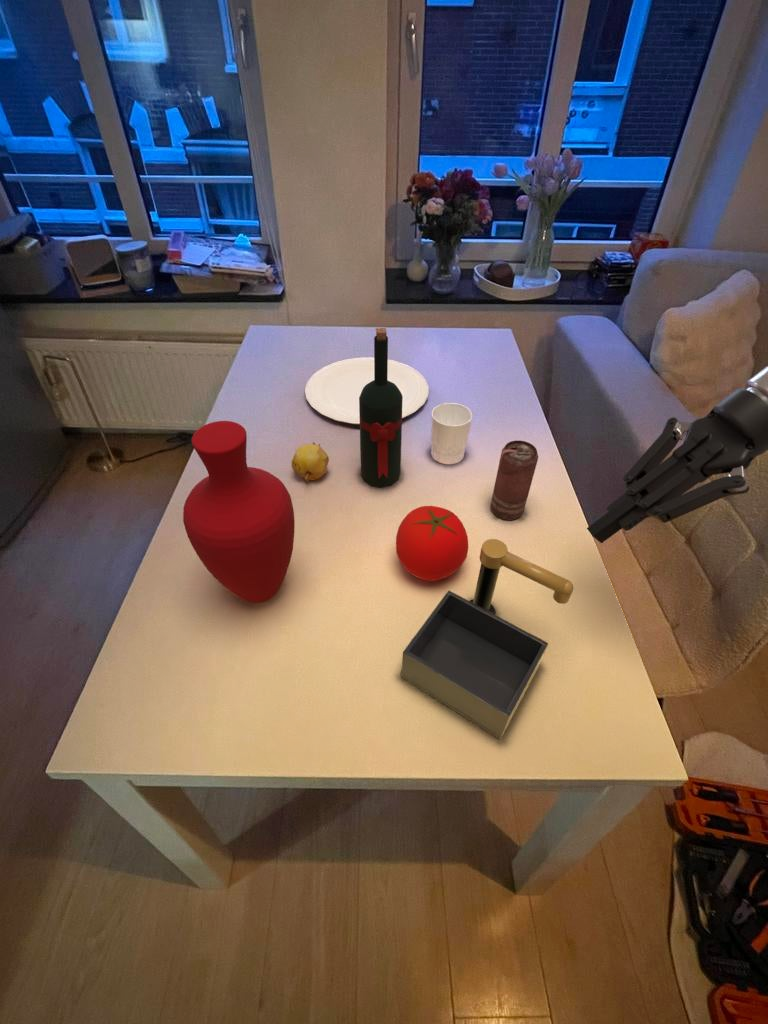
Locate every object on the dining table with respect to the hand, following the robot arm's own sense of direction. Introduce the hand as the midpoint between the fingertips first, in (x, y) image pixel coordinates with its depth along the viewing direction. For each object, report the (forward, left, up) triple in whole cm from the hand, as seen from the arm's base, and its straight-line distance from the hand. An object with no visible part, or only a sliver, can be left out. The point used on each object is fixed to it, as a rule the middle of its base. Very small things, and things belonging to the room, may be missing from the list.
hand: (594, 535), depth 69 cm
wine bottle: (+10, +41, -18) cm, 46 cm away
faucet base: (-7, +10, -18) cm, 22 cm away
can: (+16, +17, -18) cm, 29 cm away
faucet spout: (-7, +6, -5) cm, 11 cm away
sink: (-17, +7, -18) cm, 25 cm away
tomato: (-3, +22, -18) cm, 28 cm away
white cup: (+24, +34, -18) cm, 45 cm away
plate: (+33, +61, -18) cm, 72 cm away
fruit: (+3, +53, -18) cm, 56 cm away
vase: (-23, +42, -18) cm, 51 cm away
